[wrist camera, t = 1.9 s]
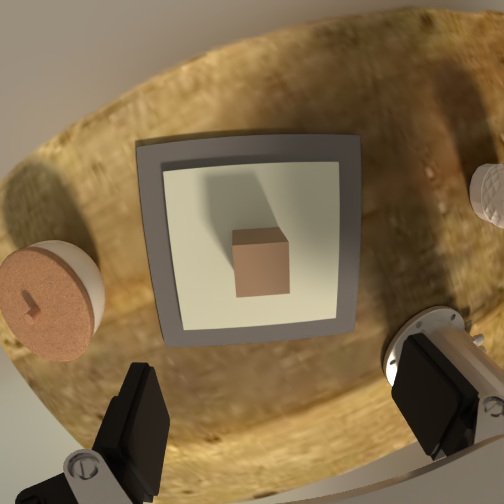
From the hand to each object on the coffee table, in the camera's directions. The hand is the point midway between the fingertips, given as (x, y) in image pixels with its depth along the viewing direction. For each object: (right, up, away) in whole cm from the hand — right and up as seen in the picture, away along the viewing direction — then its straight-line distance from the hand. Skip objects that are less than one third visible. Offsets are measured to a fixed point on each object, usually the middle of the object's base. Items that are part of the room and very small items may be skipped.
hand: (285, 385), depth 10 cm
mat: (-1, +5, +18) cm, 19 cm away
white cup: (+27, +12, +18) cm, 34 cm away
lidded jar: (-20, +2, +18) cm, 27 cm away
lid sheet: (-1, +5, +18) cm, 18 cm away
